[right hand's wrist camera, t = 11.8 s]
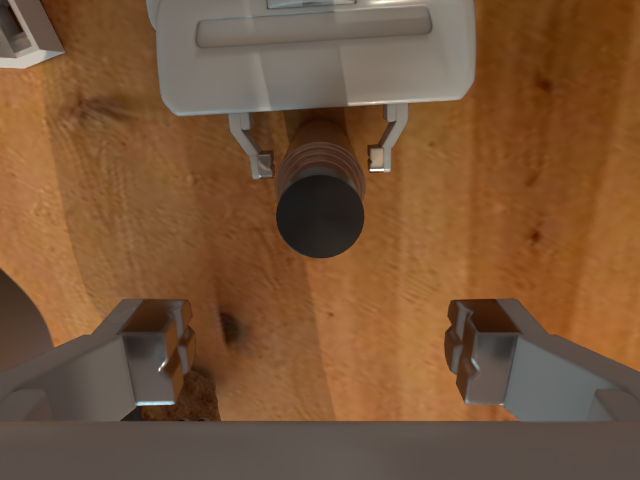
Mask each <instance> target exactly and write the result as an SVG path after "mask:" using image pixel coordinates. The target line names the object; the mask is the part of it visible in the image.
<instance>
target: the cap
mask: <svg viewBox="0 0 640 480" xmlns="http://www.w3.org/2000/svg"><path fill="white" fill-rule="evenodd" d="M276 221H277V226H278V230H279V232H280V234H281V236H282V238H283V240H284V241H285V242H286V243H287V244H288V245H289V246H290V247H291V248H292V249H293V250H295V251H296V252H298V253H300V254H302V255H305V256H308V257H312V258H328V257H333V256H336V255H338V254H340V253H343V252H344V251H346V250H347V249H348V248H350V247H351V246H352V245H353V244H354V243H355V241H356V240H357V239H358V237H359V235H360V233H361V231H362V228H363V224H364V209H363V205H362V202H361V199H360V196H359V193H358V190H357V188H356V186H355V185H354V183H353V182H352V181H351V180H350V179H349V177H347V176H346V175H345V174H343V173H342V172H340V171H338V170H336V169H333V168H330V167H320V166H318V167H311V168H307V169H305V170H302V171H300V172H299V173H297V174H296V175H294V176H293V177H292V178H291V179H290V180H289V181H288V183H287V184H286V185H285V187H284V189H283V191H282V194H281V197H280V200H279V203H278V206H277V212H276Z"/></svg>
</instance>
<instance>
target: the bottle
mask: <svg viewBox="0 0 640 480" xmlns="http://www.w3.org/2000/svg"><path fill="white" fill-rule="evenodd" d="M318 166H320V167H330V168H333V169H336V170H338V171H340V172H342V173H343V174H345V175H346V176H347V177H349V179H350V180H351V181H352V182H353V183H354V185H355V186H356V188H357V190H358V193H359V196H360V199H361V202H363V199H364V195H365V178H364V174H363V171H362V168H361V166H360V164H359V162H358V159H357V157H356V155H355V153H354V151H353V149H352V146H351V144H350V142H349V140H348V138H347V136H346V134H345V132H344V131H343V130H342V128H341V127H339V126H338V125H337V124H335V123H333V122H331V121H328V120H324V119H317V120H312V121H309V122H307V123H305V124H304V125H302V126H301V127H300V128H299V129H298V130H297V132H296V133H295V135H294V137H293V139H292V141H291V143H290V145H289V148H288V150H287V152H286V154H285V156H284V158H283V161H282V163H281V165H280V167H279V169H278V172H277V175H276V181H275V192H276V197H277V200H278V203H279V200H280V197H281V194H282V191H283V189H284V187H285V185H286V184H287V183H288V181H289V180H290V179H291V178H292V177H293V176H294V175H296V174H297V173H299V172H300V171H302V170H305V169H307V168H311V167H318Z"/></svg>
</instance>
